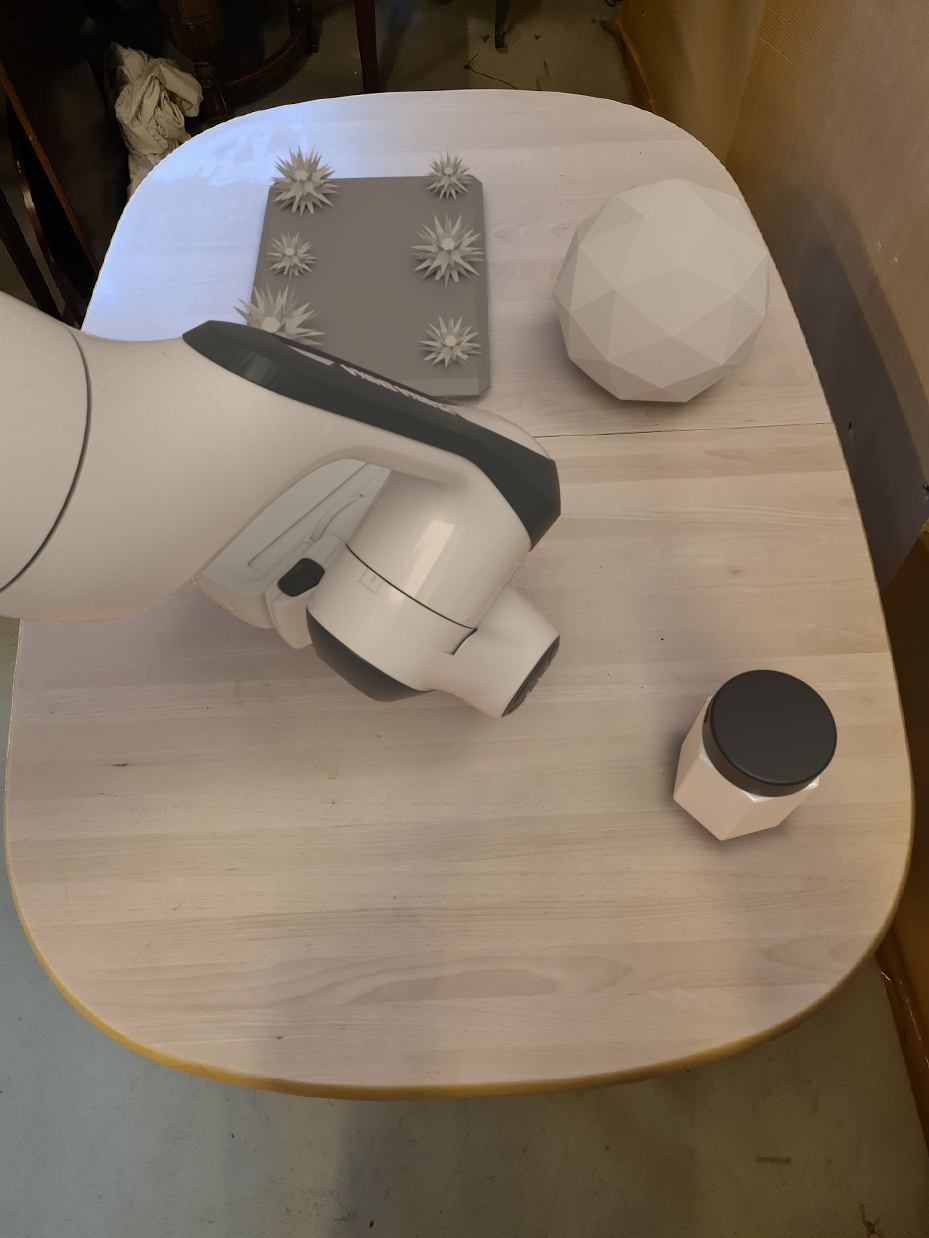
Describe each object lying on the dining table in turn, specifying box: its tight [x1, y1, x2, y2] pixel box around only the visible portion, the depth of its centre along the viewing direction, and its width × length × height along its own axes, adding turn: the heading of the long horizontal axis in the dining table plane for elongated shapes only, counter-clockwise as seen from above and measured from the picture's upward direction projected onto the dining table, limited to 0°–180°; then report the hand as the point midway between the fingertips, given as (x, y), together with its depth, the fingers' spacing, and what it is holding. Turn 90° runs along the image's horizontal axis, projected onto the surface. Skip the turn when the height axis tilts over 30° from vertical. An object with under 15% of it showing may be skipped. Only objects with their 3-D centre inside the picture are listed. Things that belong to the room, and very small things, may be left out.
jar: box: [672, 669, 838, 842], centre depth 60 cm, size 9×8×12 cm
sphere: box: [551, 176, 771, 403], centre depth 79 cm, size 19×20×20 cm
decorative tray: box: [232, 146, 491, 398], centre depth 90 cm, size 35×26×10 cm
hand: (247, 460), depth 68 cm, fingers open, 8 cm apart
